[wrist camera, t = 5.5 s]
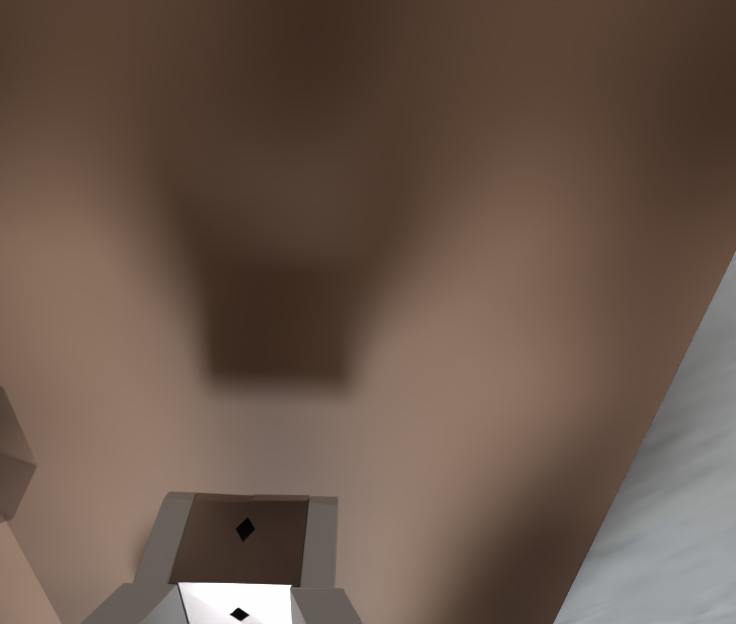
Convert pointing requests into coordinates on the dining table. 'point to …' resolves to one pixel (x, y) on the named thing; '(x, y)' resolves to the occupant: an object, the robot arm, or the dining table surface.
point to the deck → (350, 278)
